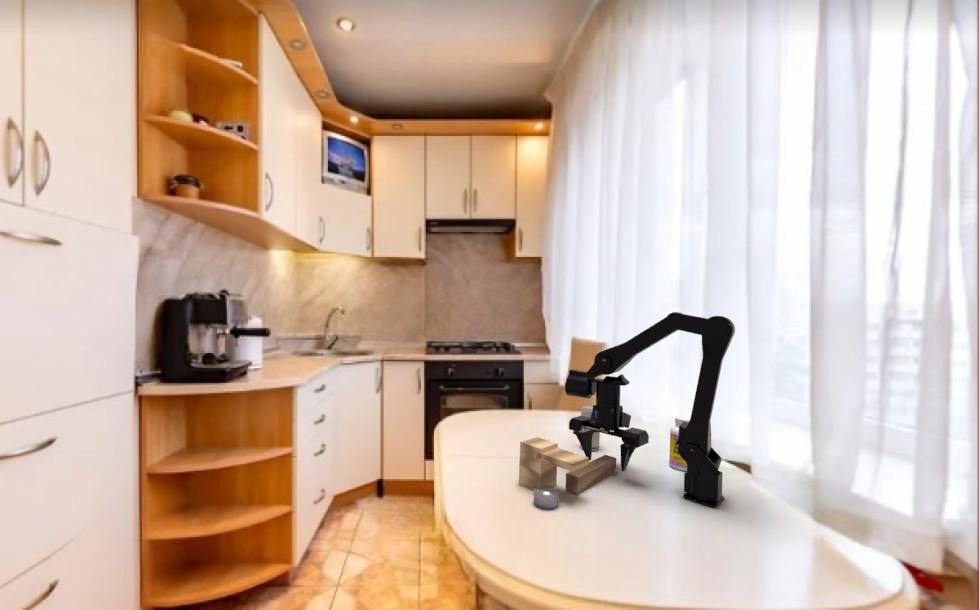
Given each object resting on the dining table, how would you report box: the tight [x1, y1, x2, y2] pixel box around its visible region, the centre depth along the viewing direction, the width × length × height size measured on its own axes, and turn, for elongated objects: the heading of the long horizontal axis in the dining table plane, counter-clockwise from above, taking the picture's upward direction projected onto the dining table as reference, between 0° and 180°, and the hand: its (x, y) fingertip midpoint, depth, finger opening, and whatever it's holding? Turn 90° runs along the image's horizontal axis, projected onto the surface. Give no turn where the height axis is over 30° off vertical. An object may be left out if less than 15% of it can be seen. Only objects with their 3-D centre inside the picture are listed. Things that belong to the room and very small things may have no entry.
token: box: [533, 485, 560, 511], centre depth 84 cm, size 5×5×3 cm
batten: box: [564, 454, 617, 496], centre depth 97 cm, size 3×18×4 cm, turn 137°
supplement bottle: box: [668, 415, 691, 472], centre depth 108 cm, size 7×7×13 cm
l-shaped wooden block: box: [518, 436, 590, 492], centre depth 91 cm, size 14×6×10 cm, turn 45°
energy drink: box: [579, 404, 601, 452], centre depth 120 cm, size 5×5×12 cm
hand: (605, 465), depth 101 cm, fingers open, 9 cm apart
